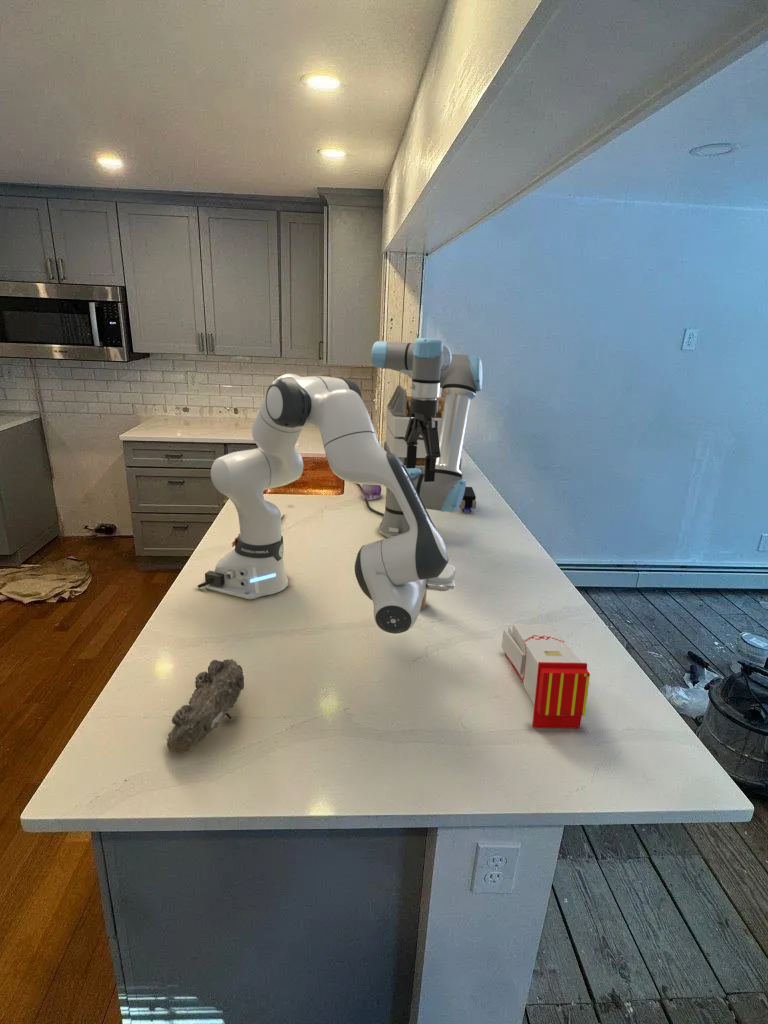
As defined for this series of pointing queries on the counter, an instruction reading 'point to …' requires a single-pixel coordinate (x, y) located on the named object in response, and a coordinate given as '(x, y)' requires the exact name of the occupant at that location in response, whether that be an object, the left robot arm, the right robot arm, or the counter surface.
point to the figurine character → (468, 500)
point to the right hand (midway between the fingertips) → (419, 474)
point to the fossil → (206, 705)
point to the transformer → (398, 426)
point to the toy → (548, 674)
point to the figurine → (371, 491)
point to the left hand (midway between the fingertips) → (414, 558)
